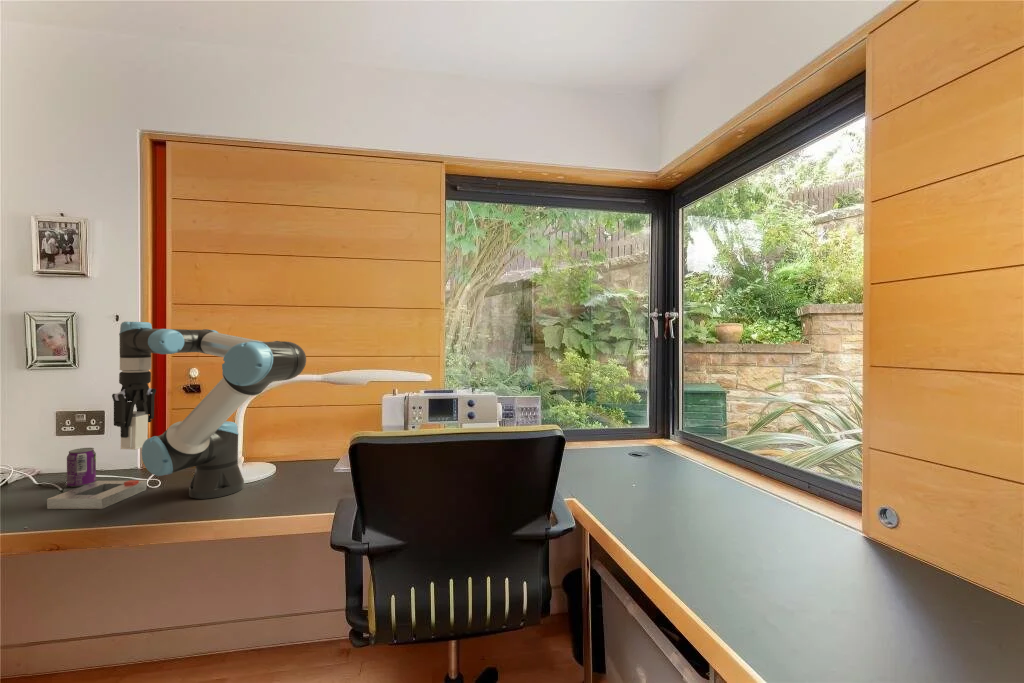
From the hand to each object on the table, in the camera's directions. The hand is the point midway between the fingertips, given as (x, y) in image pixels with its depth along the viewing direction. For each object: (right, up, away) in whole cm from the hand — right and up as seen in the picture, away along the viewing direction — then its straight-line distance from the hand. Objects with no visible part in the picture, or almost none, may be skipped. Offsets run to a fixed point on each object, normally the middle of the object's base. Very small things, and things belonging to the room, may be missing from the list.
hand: (134, 445), depth 136 cm
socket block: (-11, -17, +1) cm, 20 cm away
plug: (0, -1, 0) cm, 1 cm away
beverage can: (-30, -17, +13) cm, 37 cm away
